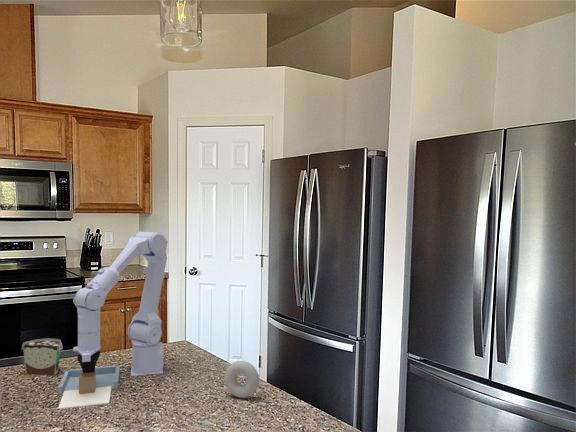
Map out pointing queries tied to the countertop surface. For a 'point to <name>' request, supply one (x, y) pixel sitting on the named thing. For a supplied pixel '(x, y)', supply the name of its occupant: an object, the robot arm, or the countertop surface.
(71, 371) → the open box
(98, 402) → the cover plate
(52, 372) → the food container
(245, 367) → the donut
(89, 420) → the countertop surface
